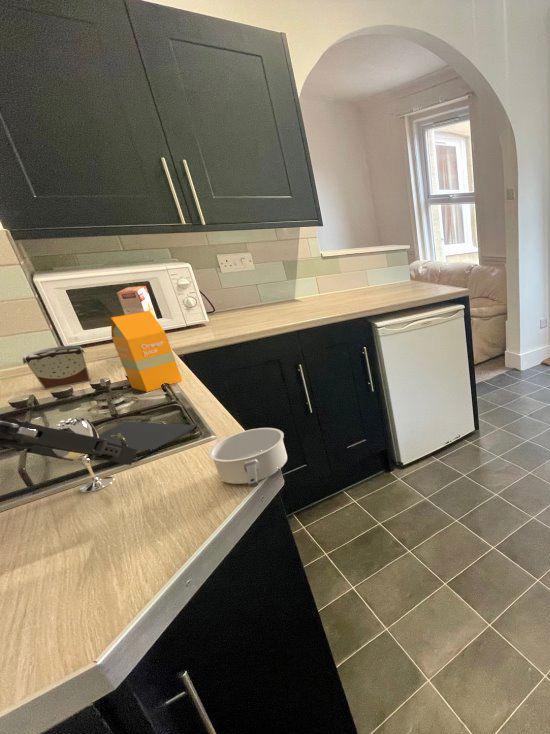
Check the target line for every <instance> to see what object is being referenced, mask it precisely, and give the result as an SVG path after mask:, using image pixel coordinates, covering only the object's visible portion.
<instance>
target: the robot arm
mask: <svg viewBox="0 0 550 734" xmlns="http://www.w3.org/2000/svg"><path fill="white" fill-rule="evenodd" d="M107 441H108V440H107V439H105V438H97V437H92V436H87V435H82V434H78V433H73V432H68V431H63V430H59V429H54V428H49V426H44V425H40V424H36V423H32V422H31V421H26V420H25V421H20V420H18V419H17V418H13V417H8V416H0V449H1V450H3V451H5V450H6V451H7V450H14V451H15V452H16V451H17V452H23V451H25V450H26V451H25V453H29V454H33V455H38V456H44V457H49V458H54V459H60V460H65V461H68V462H69V461H71V462H73V461H74V460H68V459H63V458H61V457H59V456H57V455H56V454H55V453H54V452H53V450H52V449H56V450H62V451H68V452H74V453H81V454H87V455H88V456H89V459H88V460H90V461H94V460H95V459H94V458H98V459H103V460H102V461H108V462H113V463H118V464H122V465H126V466H128V465H129V466H132V464H133V463H134V462H133V459H134V457H135V455H136V452H137V449H133V448H129V447H125V446H121V445H117V444H113V443H109V442H107Z"/></svg>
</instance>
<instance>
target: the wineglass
mask: <svg viewBox="0 0 550 734" xmlns="http://www.w3.org/2000/svg"><path fill="white" fill-rule="evenodd" d="M48 427H49V428H54V429H59V430H63V431H68V432H73V433H78V434H82V435H87V436H92V437H97V438H100V433H99V431H98V430H97V428H96V427H95V425H94V424H93V423H92V422H91V421H90V420H89V419H88V418H87V417H86V416H78V417H77V416H75V417H70V418H67V419H63V420H60V421H59V420H58V421H57V422H55V423H52V424H50V425H49V426H48ZM52 450H53V452H54V453H55V454H56V455H57V456H59V457H61V458H63V459H62V460H64V459H68V460H67V461H69V460H73V461H75V460H81V464H82V465H83V466H84V467H85V468H86V469H87V471H88V473H89V475H90V478H91V480H90V481H88V482H85V483H84V484H83V485H81V486H80V487H79V492H80V493H91V492H95V491H98V490H101V489H104V488H105V487H108V486H109V485H111V484H112V483H113V482H114V480H115V478H114V477H113V476H102V477H97V476H96V474H95V473H94V471H93V468H92V460H88V458H87V457H88V455H87V454H81V453H74V452H68V451H62V450H56V449H52Z"/></svg>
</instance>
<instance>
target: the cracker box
mask: <svg viewBox="0 0 550 734" xmlns="http://www.w3.org/2000/svg"><path fill="white" fill-rule="evenodd" d="M116 295H117V297H118V300H119V303H120V306H121V308H122V311H123V315H127V314H132V313H138V312H143V311H148V310H150V312H151V313H152V315H153V316H154V318H155V319H156V320H157V322H158V323H159V321H158V317H157V315H156V312H155V309H154V306H153V303H152V299H151V297H150V293H149V291H148V288H147V286H146V285H139V286H127V287H125V288H123V289H121V290H119V291H118V292H116Z"/></svg>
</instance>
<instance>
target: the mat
mask: <svg viewBox="0 0 550 734" xmlns="http://www.w3.org/2000/svg"><path fill="white" fill-rule="evenodd" d="M196 426H197V427H198V425H196V424H179V423H163V422H161V423H160V422H143V421H141V422H140V421H126V422H123V423H121V424H119V425H117V426H115V427H113V428H110V429H108V430H106V431H104V432H102V433H99V435H100V438H105V439H107V440H108V441H107V442H109V443H113V444H117V445H121V446H122V444H121V442H120V441H119V439H118V438H117V436H116V437H111V435H113V434H114V435H117V434H118V433H121V434H122V435H123V437H124V438H125V440H126V443H127V445H128V447H129V448H133V449H137V452H139V451H143V450H147V449H150V450H151V451H152V449H153V450H154V449H156V448H158V447H159V446H161V445H164V444H166V443H168V442H170V441H172V442H174V441H176V440H178V439H179V438H181V437H183V436H184V435H187V434H188V433H190V432H192V431H193V430H195V429H196V428H195V427H196ZM194 428H195V429H194ZM175 439H176V440H175ZM173 440H174V441H173ZM141 457H142V456H140V457H136V458H134V459H133V461H137V460H138V459H139V458H141ZM87 458H88V459H89V456H88V457H87ZM94 460H99V461H104V460H103V459H98V458H94ZM137 462H138V461H137Z"/></svg>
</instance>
